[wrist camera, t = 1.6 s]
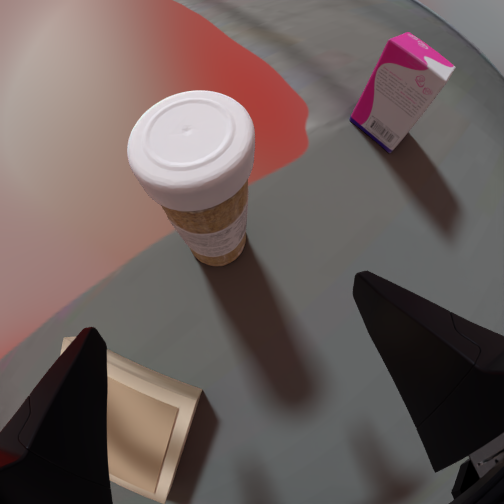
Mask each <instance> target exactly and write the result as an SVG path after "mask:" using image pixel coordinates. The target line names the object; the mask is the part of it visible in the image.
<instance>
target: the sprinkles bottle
mask: <svg viewBox="0 0 504 504" xmlns="http://www.w3.org/2000/svg"><path fill="white" fill-rule="evenodd" d="M254 151H255V132H254V126H253V122H252V120H251V118H250V115H249V114H248V112H247V111H246V110H245V109H244V107H243V106H242V105H241V104H239V103H238V102H237V101H235V100H234V99H232V98H230V97H228V96H226V95H223V94H221V93H217V92H212V91H188V92H183V93H179V94H175V95H172V96H170V97H167V98H165V99H164V100H162V101H160V102H158V103H156V104H155V105H154V106H152V107H151V108H150V109H148V110H147V111H146V112H145V113H144V114H143V115H142V116H141V118H140V119H139V120H138V121H137V123H136V125H135V126H134V128H133V130H132V132H131V134H130V138H129V141H128V147H127V154H128V160H129V164H130V167H131V169H132V171H133V173H134V175H135V176H136V178H137V179H138V181H139V182H140V184H141V185H142V187H143V188H144V190H145V191H146V193H147V194H148V195H149V196H150V197H151V198H152V199H153V200H155V201H156V202H157V203H158V204H160V205H161V206H162V208H163V209H164V211H165V212H166V214H167V217H168V219H169V221H170V222H171V224H172V225H173V226H174V228H175V229H176V230H177V232H178V233H179V234H180V236H181V237H182V239H183V240H184V241H185V243H186V244H187V245H188V246H189V247H190V249H191V251H192V253H193V254H194V256H195V257H196V258H197V259H199V260H200V261H201V262H202V263H205V264H207V265H211V266H224V265H226V264H229V263H231V262H232V261H234V260H235V259H236V258H237V257H238V256H239V255H240V254H241V253H242V251H243V248H244V246H245V242H246V232H245V231H246V222H247V207H248V178H249V176H250V173H251V170H252V167H253V162H254Z"/></svg>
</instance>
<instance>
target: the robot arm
mask: <svg viewBox="0 0 504 504" xmlns="http://www.w3.org/2000/svg"><path fill="white" fill-rule="evenodd" d="M353 297H354V300H355V302H356V304H357V307H358V309H359V311H360V314H361V316H362V318H363V321H364V323H365V326H366V328H367V330H368V333H369V335H370V337H371V339H372V340H373V342H374V344H375V346H376V348H377V350H378V352H379V353H380V355H381V357H382V359H383V361H384V363H385V365H386V367H387V369H388V371H389V373H390V375H391V377H392V379H393V381H394V383H395V385H396V387H397V389H398V391H399V393H400V395H401V397H402V399H403V401H404V403H405V405H406V407H407V409H408V411H409V414H410V416H411V418H412V420H413V422H414V424H415V427H416V428H417V431H418V434H419V436H420V438H421V441H422V443H423V445H424V447H425V450H426V452H427V455H428V457H429V459H430V462H431V464H432V467H433V469H434V471H435V473H436V472H438V471H440V470H442V469H444V468H446V467H448V466H450V465H452V464H454V463H456V462H458V461H459V460H461V459H463V458H465V457H467V456H469V459H468V460H466V461H465V462H464V463H463V464H461V466H460V469H459V472H458V475H457V478H456V481H455V484H454V487H453V489H452V492H451V493H452V495H453V498H454V500H453V501H452V502H450V503H449V504H504V336H502V335H500V334H498V333H495V332H493V331H491V330H488V329H486V328H483V327H481V326H479V325H477V324H474V323H472V322H470V321H468V320H466V319H464V318H462V317H460V316H458V315H456V314H454V313H452V312H450V311H448V310H446V309H444V308H442V307H440V306H438V305H437V304H435V303H433V302H431V301H429V300H427V299H425V298H423V297H421V296H419V295H417V294H415V293H413V292H411V291H408V290H406V289H404V288H402V287H400V286H398V285H396V284H394V283H392V282H390V281H388V280H386V279H384V278H382V277H380V276H377V275H375V274H373V273H371V272H369V271H362V272H359V273H357V274H356V275H355V279H354V286H353ZM107 396H108V375H107V346H106V343H105V341H104V340H103V338H102V337H101V335H100V334H99V332H98V331H97V329H96V328H94V327H88V328H84V329H83V330H82V331H81V332H80V333H79V334H78V336H77V337H76V338H75V339H74V340H73V341H72V342H71V344H70V345H69V346H68V347H67V348H66V350H65V351H64V352H63V353H62V354H61V355H60V357H59V358H58V359H57V360H56V362H55V363H54V364H53V365H52V366H51V368H50V369H49V370H48V371H47V373H46V374H45V375H44V376H43V378H42V379H41V380H40V382H39V383H38V384H37V385H36V387H35V388H34V389H33V391H32V392H31V393H30V396H28V397H27V399H26V400H25V401H24V403H23V404H22V405H21V407H20V408H19V409H18V411H17V412H16V413H15V415H14V416H13V417H12V418H11V420H10V421H9V422H8V423H7V424H6V426H5V427H4V428H3V429H2V431H1V432H0V504H113V502H112V495H111V489H110V478H109V466H108V448H107Z"/></svg>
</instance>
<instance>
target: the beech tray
mask: <svg viewBox="0 0 504 504" xmlns="http://www.w3.org/2000/svg"><path fill="white" fill-rule="evenodd" d="M75 338H76V337H64V340H63V345H62V349H61V354H62V353H63V352H64V351H65V350H66V348H67V347H68V346H69V345H70V344H71V342H72V341H73V340H74V339H75ZM107 375H108V396H107V448H108V466H109V478H110V481H112V482H114V483H116V484H118V485H120V486H122V487H125V488H127V489H129V490H131V491H133V492H136V493H138V494H140V495H143V496H145V497H147V498H150V499H153V500H155V501H158V502H160V503H163V504H165V501H166V499H167V496H168V494H169V492H170V489H171V487H172V484H173V481H174V478H175V474H176V471H177V468H178V465H179V462H180V458H181V455H182V452H183V449H184V446H185V443H186V439H187V436H188V433H189V430H190V427H191V424H192V421H193V417H194V414H195V411H196V408H197V405H198V402H199V399H200V395H201V392H202V389H200V388H197V387H194V386H191V385H189V384H186V383H183V382H181V381H178V380H175V379H173V378H170V377H168V376H165V375H163V374H160V373H158V372H155V371H153V370H151V369H148V368H146V367H144V366H142V365H139V364H137V363H135V362H133V361H131V360H129V359H127V358H124V357H122V356H120V355H118V354H116V353H114V352H112V351H110V350H108V349H107Z"/></svg>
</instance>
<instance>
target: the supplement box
mask: <svg viewBox="0 0 504 504" xmlns="http://www.w3.org/2000/svg"><path fill="white" fill-rule="evenodd" d="M454 69H455V66H454V65H452V64H451V63H450V62H449V61H448V60H446V59H445V58H444V57H443V56H441V55H440V54H439V53H438V52H436V51H435V50H434V49H432V48H431V47H430V46H428V45H427V44H426V43H424V42H423V41H421V40H420V39H418V38H417V37H415V36H414V35H412V34H411V33H409V32H406V33H404V34H402V35H400V36H397V37H394V38H391V39H389V40H388V42H387V44H386V46H385V48H384V50H383V52H382V54H381V56H380V59H379V61H378V63H377V65H376V67H375V69H374V71H373V73H372V75H371V77H370V79H369V81H368V83H367V85H366V87H365V89H364V91H363V93H362V95H361V97H360V99H359V101H358V103H357V105H356V107H355V109H354V111H353V113H352V114H351V116H350V119H349V120H350V121H351V122H352V123H354V124H355V125H356V126H357V127H359V128H360V129H361V130H363V131H364V132H365V133H366V134H367V135H369V136H370V137H371V138H372V139H374V140H375V141H376V142H377V143H378V144H379V145H380V146H382V147H383V148H384V149H385V150H386V151H387V152H388V153H391V152H392V151H393V150H394V149H395V148H396V146H397V145H398V144H399V143H400V142H401V140H402V139H403V138H404V137H405V136H406V134H407V133H408V132H409V131H410V129H411V128H412V127H413V126H414V124H415V123H416V122H417V121H418V119H419V118H420V117H421V116H422V114H423V113H424V112H425V110H426V109H427V108H428V106H429V105H430V104H431V103H432V101H433V100H434V99H435V97H436V96H437V95H438V93H439V92H440V91H441V89H442V88H443V87H444V85H445V84H446V83H447V81H448V80H449V78H450V76H451V75H452V73H453V71H454Z"/></svg>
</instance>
